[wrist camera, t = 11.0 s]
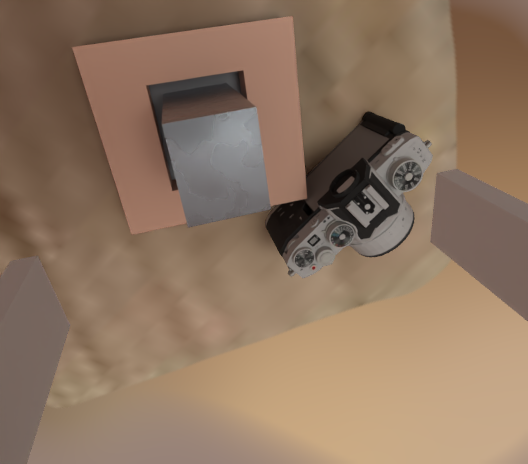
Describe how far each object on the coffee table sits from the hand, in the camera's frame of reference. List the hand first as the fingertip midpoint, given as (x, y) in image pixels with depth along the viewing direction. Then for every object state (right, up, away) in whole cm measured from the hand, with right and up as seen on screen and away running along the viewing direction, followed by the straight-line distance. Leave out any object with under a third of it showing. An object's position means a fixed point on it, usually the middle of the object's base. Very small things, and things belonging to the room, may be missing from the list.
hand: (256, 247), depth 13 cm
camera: (+7, +5, +26) cm, 27 cm away
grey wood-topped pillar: (-5, +9, +19) cm, 22 cm away
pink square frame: (-5, +10, +20) cm, 23 cm away
